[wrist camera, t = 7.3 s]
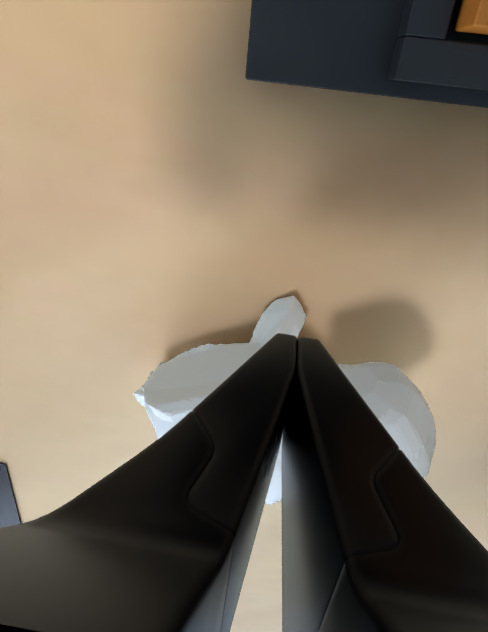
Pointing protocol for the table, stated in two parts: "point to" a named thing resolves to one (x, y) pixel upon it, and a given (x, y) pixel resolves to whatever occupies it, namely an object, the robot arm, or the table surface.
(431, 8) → the dark grey socket base
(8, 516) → the black-topped pedestal
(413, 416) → the white lumpy shape
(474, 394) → the table surface
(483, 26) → the key
